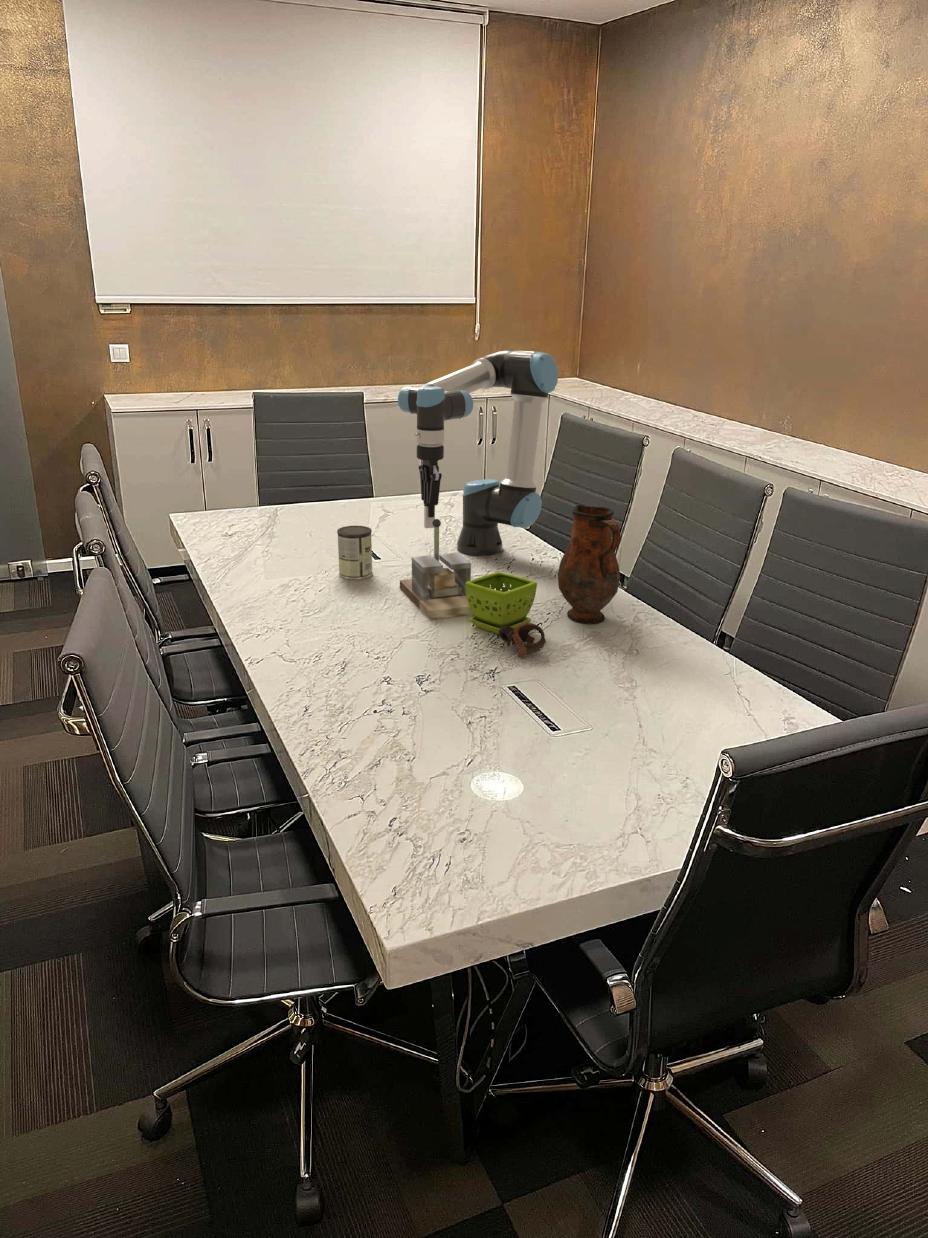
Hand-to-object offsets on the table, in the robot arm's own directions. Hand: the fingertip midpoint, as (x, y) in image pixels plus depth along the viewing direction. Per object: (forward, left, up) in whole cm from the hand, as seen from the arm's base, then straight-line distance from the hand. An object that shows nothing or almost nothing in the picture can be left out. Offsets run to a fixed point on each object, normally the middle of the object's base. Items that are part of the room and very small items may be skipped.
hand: (429, 527), depth 264 cm
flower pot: (-8, +33, -19) cm, 39 cm away
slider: (0, +9, -16) cm, 18 cm away
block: (0, +9, -16) cm, 19 cm away
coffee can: (+17, -21, -19) cm, 33 cm away
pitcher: (-33, +36, -19) cm, 53 cm away
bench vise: (0, +9, -19) cm, 21 cm away
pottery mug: (-7, +50, -19) cm, 54 cm away
